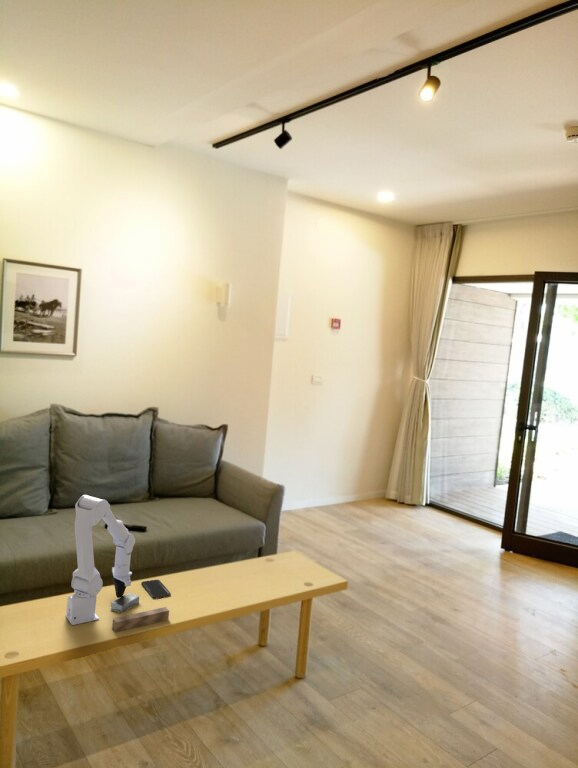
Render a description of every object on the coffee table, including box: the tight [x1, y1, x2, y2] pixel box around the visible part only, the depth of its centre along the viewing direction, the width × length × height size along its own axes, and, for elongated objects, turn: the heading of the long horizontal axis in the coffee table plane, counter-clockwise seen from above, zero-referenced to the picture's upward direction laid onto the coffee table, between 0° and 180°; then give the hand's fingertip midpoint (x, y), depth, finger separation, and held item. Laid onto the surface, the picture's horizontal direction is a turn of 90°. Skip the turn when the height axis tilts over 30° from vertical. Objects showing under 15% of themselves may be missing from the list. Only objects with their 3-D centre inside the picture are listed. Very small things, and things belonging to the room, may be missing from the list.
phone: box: [140, 579, 171, 600], centre depth 227 cm, size 8×1×15 cm
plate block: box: [110, 592, 140, 614], centre depth 211 cm, size 10×5×3 cm, turn 157°
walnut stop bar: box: [111, 606, 170, 633], centre depth 199 cm, size 20×3×4 cm, turn 128°
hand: (119, 596), depth 216 cm, fingers closed
